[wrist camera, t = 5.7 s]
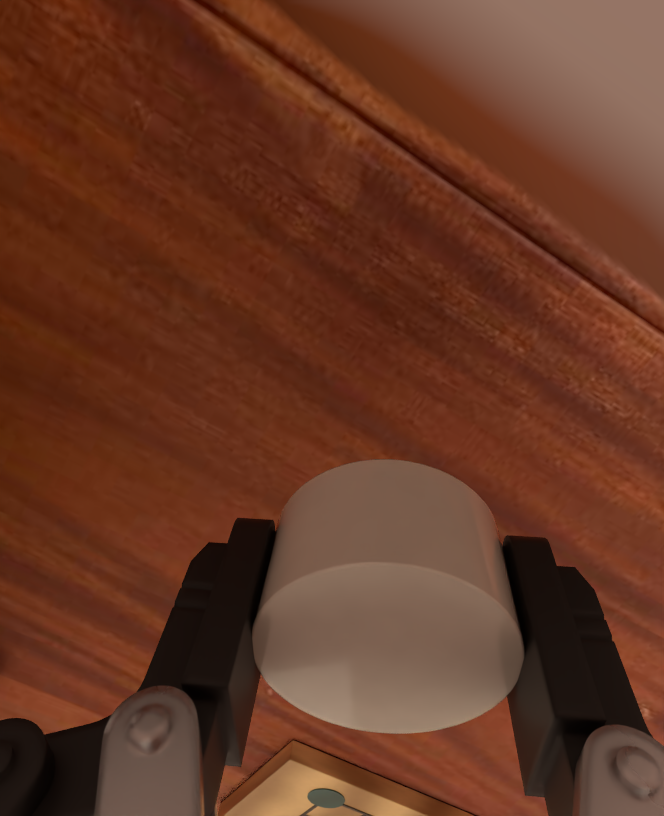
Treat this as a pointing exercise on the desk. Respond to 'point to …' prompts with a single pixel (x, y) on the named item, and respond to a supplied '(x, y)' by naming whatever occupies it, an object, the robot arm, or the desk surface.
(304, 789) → the game board
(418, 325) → the desk surface
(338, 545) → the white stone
